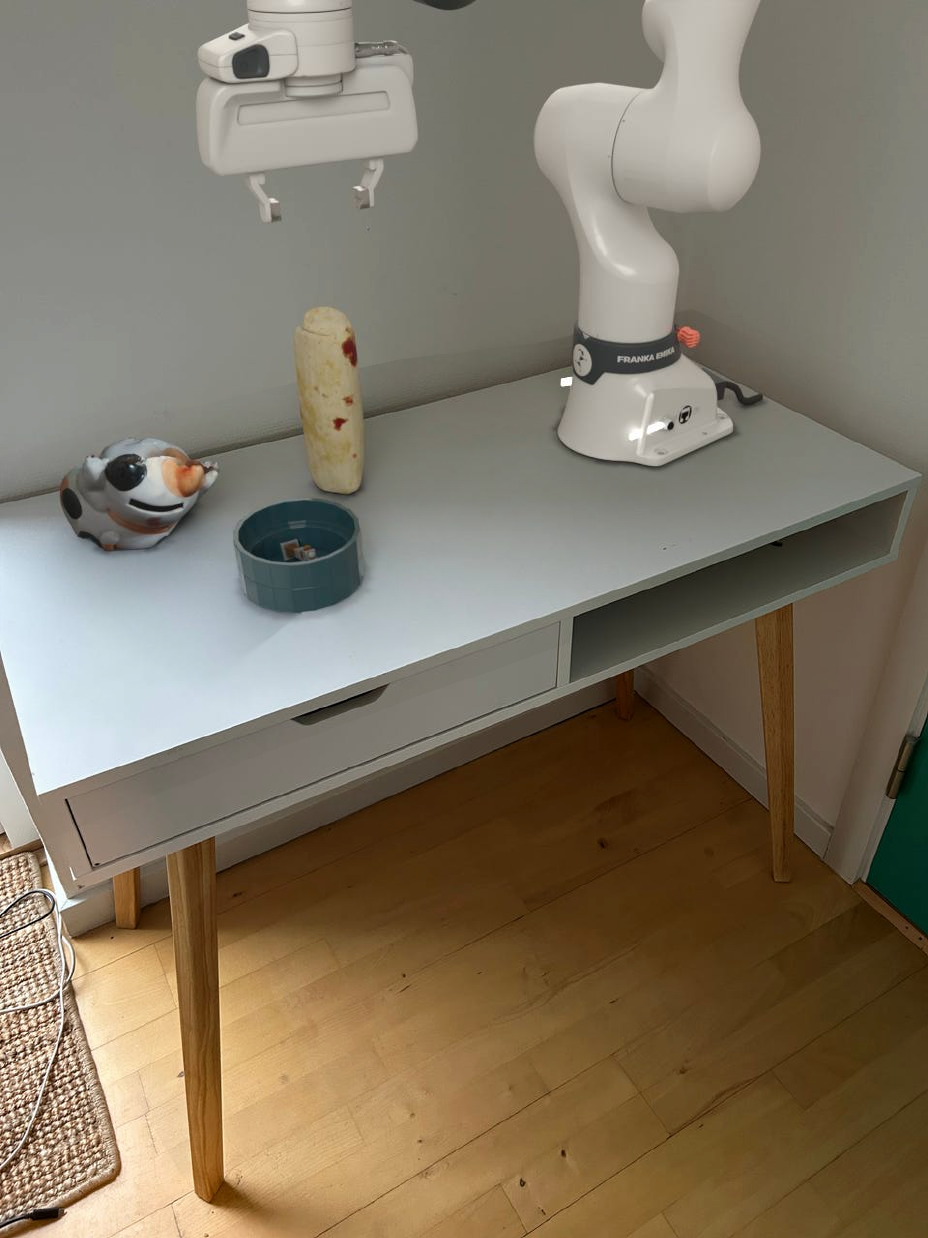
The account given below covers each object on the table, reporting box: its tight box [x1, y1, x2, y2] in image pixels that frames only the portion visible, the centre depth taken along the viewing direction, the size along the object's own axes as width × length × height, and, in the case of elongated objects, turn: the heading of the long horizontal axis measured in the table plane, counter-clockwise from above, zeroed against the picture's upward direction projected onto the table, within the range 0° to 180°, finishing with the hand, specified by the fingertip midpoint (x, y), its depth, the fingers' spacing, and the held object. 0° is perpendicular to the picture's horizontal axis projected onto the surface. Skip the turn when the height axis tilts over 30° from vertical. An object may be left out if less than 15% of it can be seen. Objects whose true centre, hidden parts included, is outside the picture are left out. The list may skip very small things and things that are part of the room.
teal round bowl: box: [232, 497, 365, 613], centre depth 98 cm, size 12×12×6 cm
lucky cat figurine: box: [59, 437, 221, 551], centre depth 104 cm, size 15×12×14 cm
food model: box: [293, 306, 365, 495], centre depth 109 cm, size 10×7×20 cm
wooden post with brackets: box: [280, 539, 317, 561], centre depth 98 cm, size 2×8×4 cm, turn 29°
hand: (318, 214), depth 93 cm, fingers open, 8 cm apart
